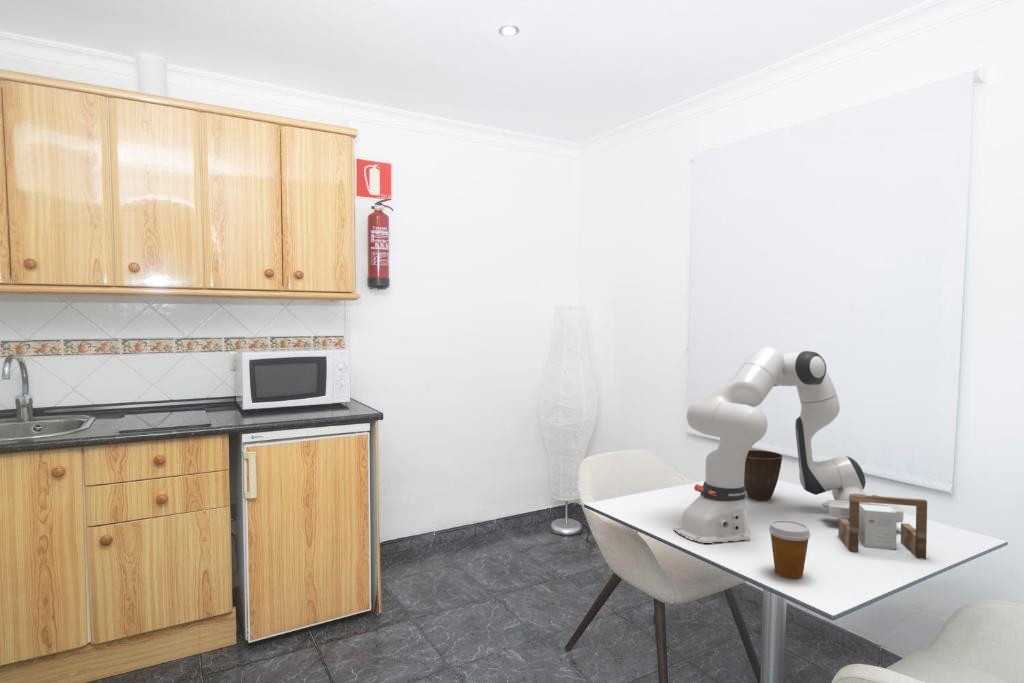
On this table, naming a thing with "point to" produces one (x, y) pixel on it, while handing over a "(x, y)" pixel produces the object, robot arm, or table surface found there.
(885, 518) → the small box
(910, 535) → the wooden archway
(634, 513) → the table surface
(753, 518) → the table surface
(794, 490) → the table surface
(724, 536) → the robot arm
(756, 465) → the plant pot
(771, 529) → the disposable coffee cup
